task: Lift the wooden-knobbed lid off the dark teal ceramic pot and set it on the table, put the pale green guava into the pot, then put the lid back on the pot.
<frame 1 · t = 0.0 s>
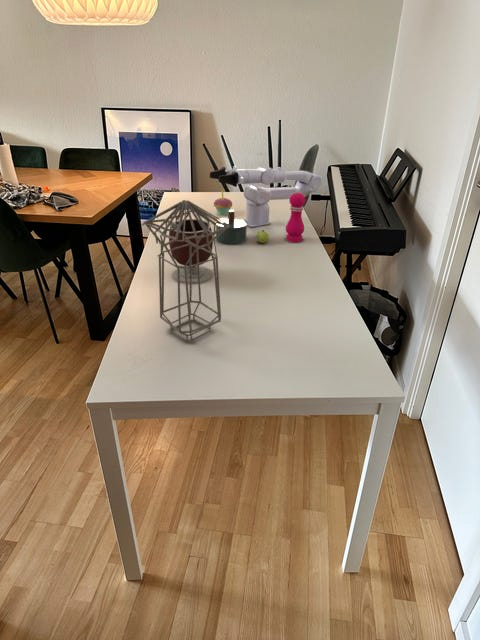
hand: (214, 177, 175), 22 cm above the table, tool horizontal, fingers open, 7 cm apart
pot lid: (231, 223, 174), point 6 cm above the table, touching pot
guava: (262, 242, 175), on the table
mate gourd: (190, 275, 148), on the table
geometric lantern: (191, 332, 119), on the table
pepper mill: (294, 240, 178), on the table
cupcake: (223, 214, 205), on the table
pot: (231, 239, 177), on the table
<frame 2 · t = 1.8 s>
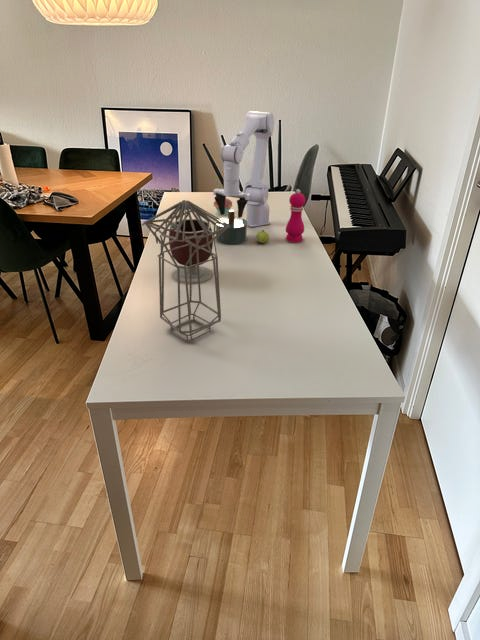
hand: (231, 215, 172), 10 cm above the table, tool pointing down, fingers open, 7 cm apart
nothing on the table moved.
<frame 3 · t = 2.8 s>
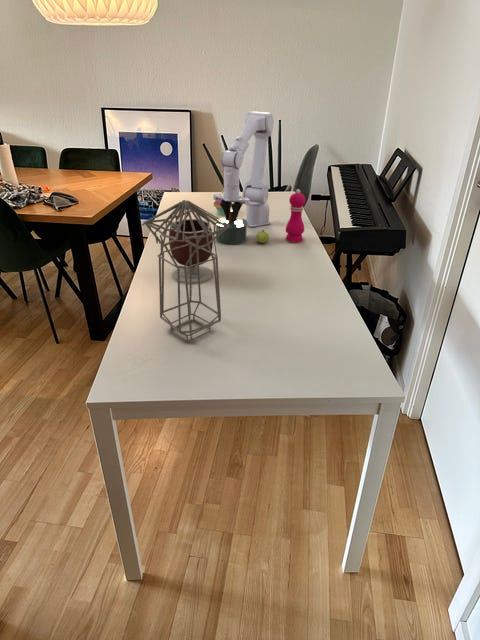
hand: (231, 220, 173), 8 cm above the table, tool pointing down, fingers closed on pot lid, 2 cm apart
pot lid: (231, 223, 174), point 6 cm above the table, touching gripper, pot
everything else where it was.
when the fingers open (2 cm above the table, at t = 6.9 s): pot lid stays where it is, point 1 cm above the table.
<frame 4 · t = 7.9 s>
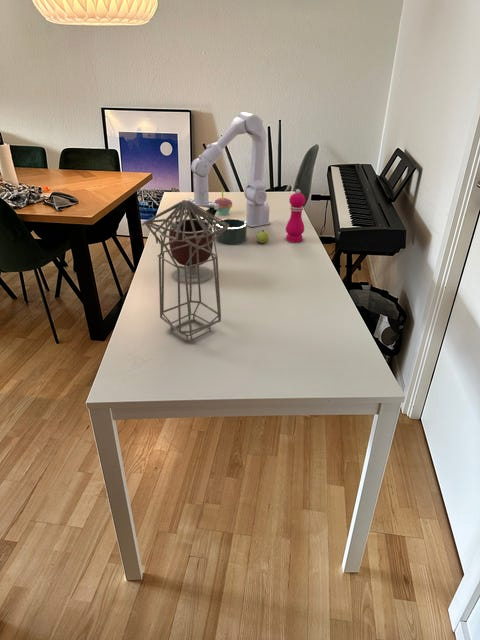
hand: (202, 224, 184), 3 cm above the table, tool pointing down, fingers open, 7 cm apart
pot lid: (202, 229, 185), point 1 cm above the table
everything else where it was.
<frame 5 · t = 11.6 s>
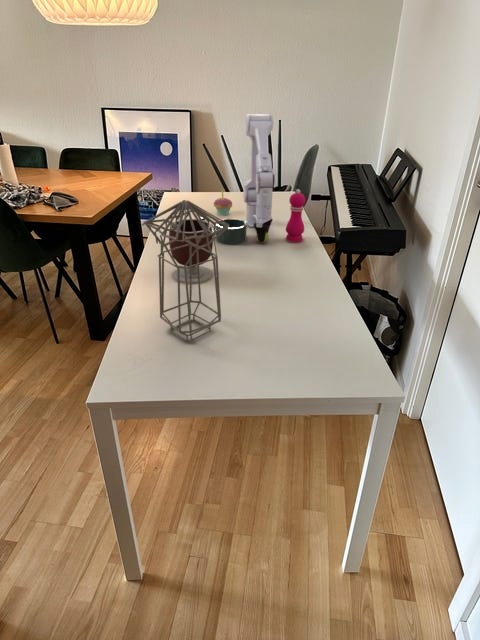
hand: (262, 239, 174), 1 cm above the table, tool pointing down, fingers closed on guava, 4 cm apart
guava: (262, 242, 175), on the table, touching gripper
everything else where it was.
when the fingers open (3 cm above the table, at t = 16.7 s): guava drops 1 cm, resting on pot.
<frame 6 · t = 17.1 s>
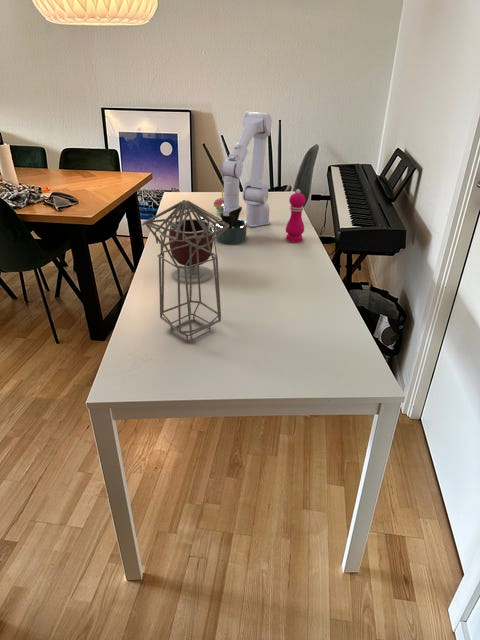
hand: (231, 228, 175), 4 cm above the table, tool pointing down, fingers open, 7 cm apart
guava: (231, 238, 177), resting on pot
everything else where it was.
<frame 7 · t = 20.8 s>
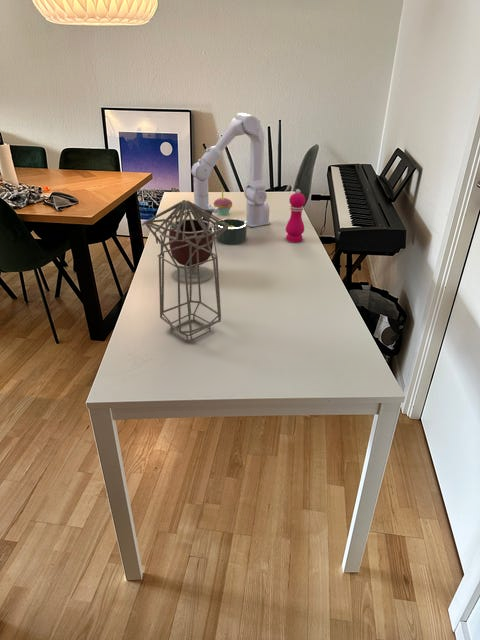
hand: (202, 227, 185), 1 cm above the table, tool pointing down, fingers closed on pot lid, 2 cm apart
pot lid: (202, 229, 185), point 1 cm above the table, touching gripper
guava: (231, 237, 177), point 1 cm above the table, tilted 27°, touching pot
everything else where it was.
when the fingers open (7 cm above the table, at t = 26.2 s): pot lid stays where it is, resting on pot.
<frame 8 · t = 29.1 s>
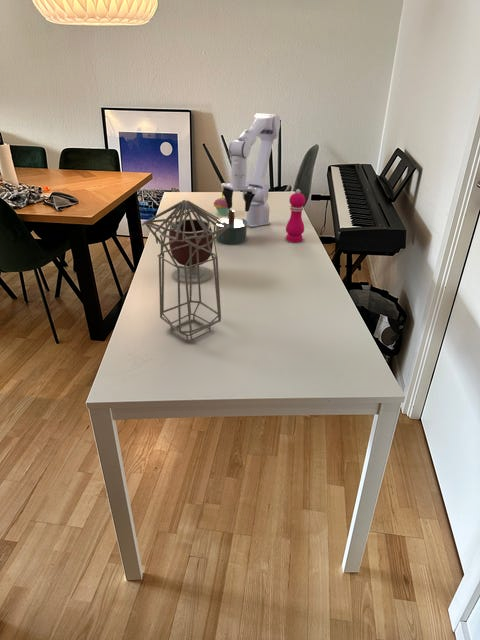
hand: (238, 209, 177), 10 cm above the table, tool pointing down, fingers open, 7 cm apart
pot lid: (231, 223, 174), point 6 cm above the table, touching pot
guava: (231, 234, 177), point 2 cm above the table, tilted 63°, touching pot
everything else where it was.
at the end: guava inside the target area in the pot (0.4 cm from its centre), point 1.7 cm above the pot's base; pot lid 0.1 cm off-centre on the pot, point 6.5 cm above the pot's base; pot lid tilted 0° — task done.
